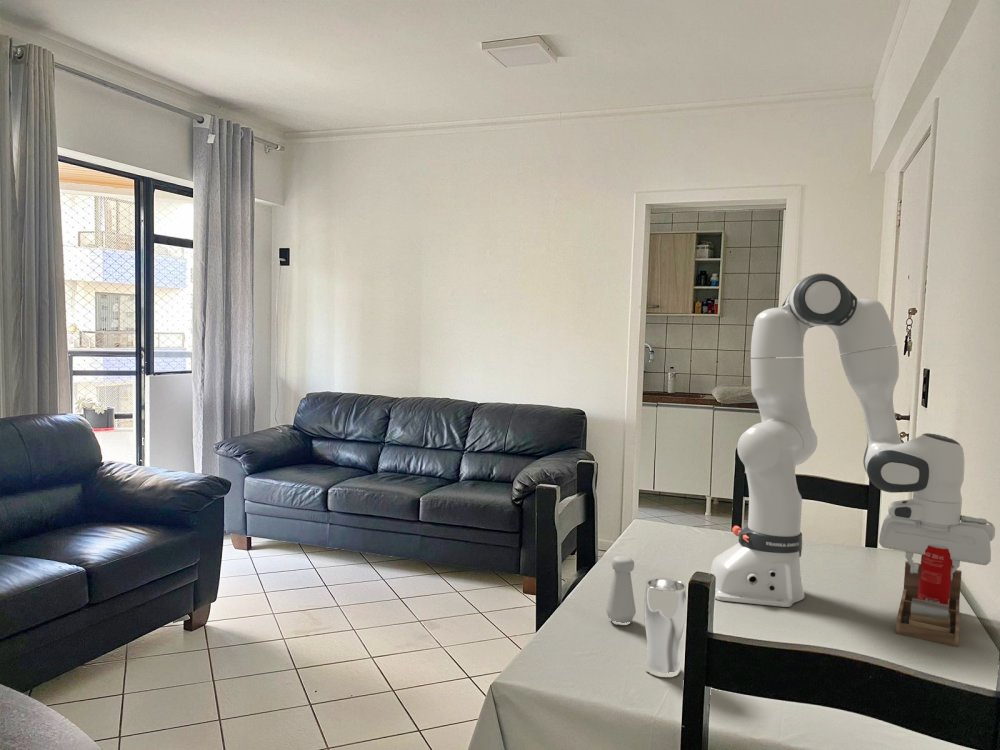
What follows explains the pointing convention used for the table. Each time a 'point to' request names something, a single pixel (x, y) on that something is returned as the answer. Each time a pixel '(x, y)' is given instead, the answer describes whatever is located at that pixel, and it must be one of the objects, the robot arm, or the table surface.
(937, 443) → the robot arm
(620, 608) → the salt shaker
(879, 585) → the table surface
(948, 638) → the rack
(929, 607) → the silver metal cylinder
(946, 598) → the beverage can
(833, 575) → the table surface
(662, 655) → the beer glass
